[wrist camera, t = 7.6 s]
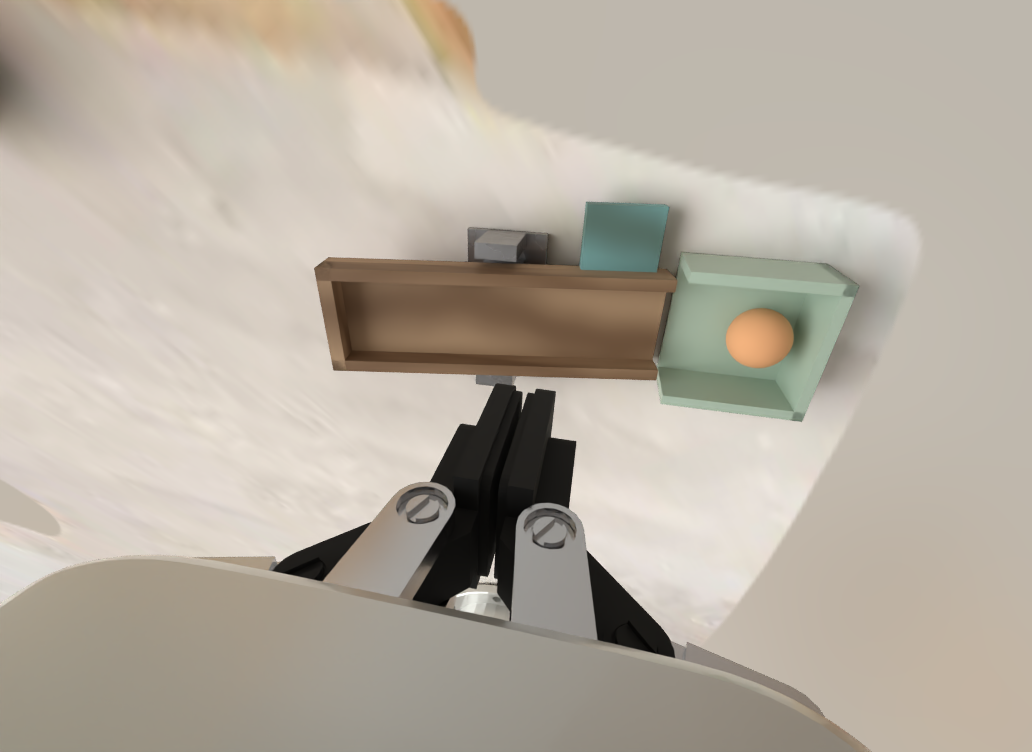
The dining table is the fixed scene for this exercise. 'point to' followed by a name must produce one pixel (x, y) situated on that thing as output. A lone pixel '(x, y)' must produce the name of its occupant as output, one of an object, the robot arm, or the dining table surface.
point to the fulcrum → (505, 250)
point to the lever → (508, 307)
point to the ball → (759, 338)
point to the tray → (718, 301)
